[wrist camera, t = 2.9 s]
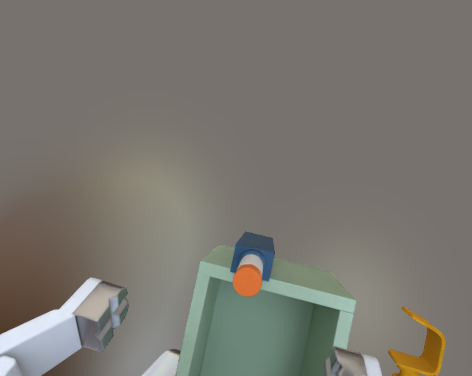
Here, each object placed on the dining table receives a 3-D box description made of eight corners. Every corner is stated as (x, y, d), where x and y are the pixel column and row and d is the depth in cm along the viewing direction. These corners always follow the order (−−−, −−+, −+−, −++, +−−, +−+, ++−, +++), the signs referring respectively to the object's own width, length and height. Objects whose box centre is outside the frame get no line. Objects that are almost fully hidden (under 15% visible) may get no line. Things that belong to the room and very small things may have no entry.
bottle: (269, 308, 22) (277, 269, 22) (217, 294, 23) (225, 256, 23) (268, 258, 42) (272, 237, 43) (241, 251, 43) (245, 231, 43)
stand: (306, 550, 29) (356, 300, 30) (149, 492, 31) (200, 260, 32) (294, 443, 42) (329, 270, 43) (184, 407, 44) (219, 244, 45)
